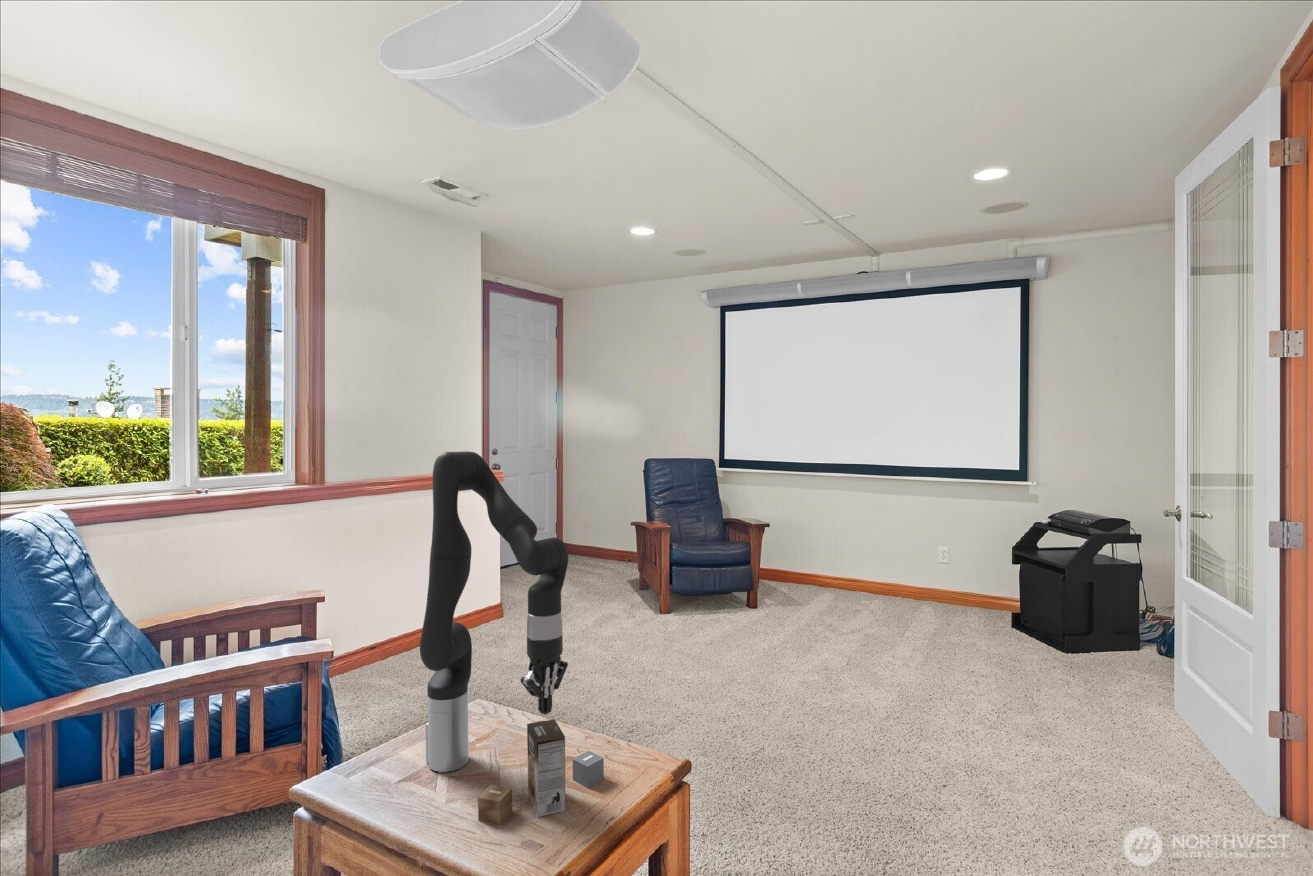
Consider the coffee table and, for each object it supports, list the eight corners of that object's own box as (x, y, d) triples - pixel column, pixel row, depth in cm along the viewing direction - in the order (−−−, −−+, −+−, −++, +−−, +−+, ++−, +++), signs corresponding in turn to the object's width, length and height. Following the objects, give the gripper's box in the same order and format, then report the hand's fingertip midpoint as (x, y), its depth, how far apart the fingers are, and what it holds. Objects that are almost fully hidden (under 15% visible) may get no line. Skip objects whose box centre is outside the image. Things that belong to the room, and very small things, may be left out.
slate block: (572, 780, 150) (572, 758, 150) (589, 771, 154) (588, 750, 154) (587, 788, 147) (587, 766, 147) (603, 779, 151) (603, 757, 150)
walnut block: (478, 821, 135) (478, 796, 135) (491, 807, 140) (491, 783, 140) (499, 825, 134) (499, 800, 134) (512, 811, 139) (512, 787, 138)
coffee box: (527, 795, 144) (526, 723, 144) (555, 788, 147) (555, 717, 146) (536, 818, 136) (535, 742, 135) (566, 811, 138) (565, 735, 138)
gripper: (552, 621, 148) (552, 697, 148) (509, 638, 136) (510, 720, 137) (578, 627, 144) (578, 705, 144) (536, 645, 132) (537, 729, 133)
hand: (545, 712), depth 141 cm, fingers closed
